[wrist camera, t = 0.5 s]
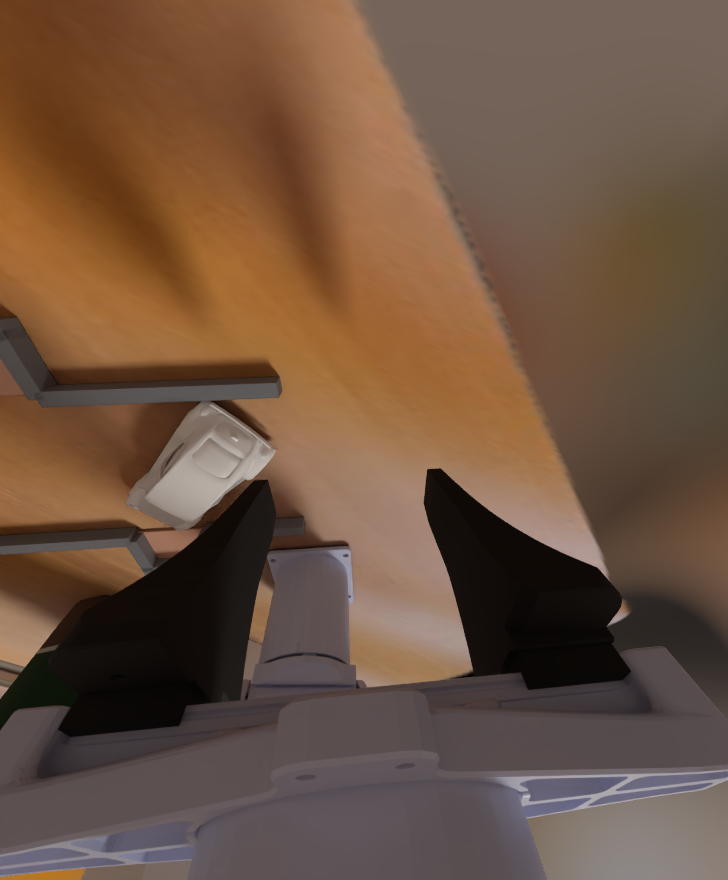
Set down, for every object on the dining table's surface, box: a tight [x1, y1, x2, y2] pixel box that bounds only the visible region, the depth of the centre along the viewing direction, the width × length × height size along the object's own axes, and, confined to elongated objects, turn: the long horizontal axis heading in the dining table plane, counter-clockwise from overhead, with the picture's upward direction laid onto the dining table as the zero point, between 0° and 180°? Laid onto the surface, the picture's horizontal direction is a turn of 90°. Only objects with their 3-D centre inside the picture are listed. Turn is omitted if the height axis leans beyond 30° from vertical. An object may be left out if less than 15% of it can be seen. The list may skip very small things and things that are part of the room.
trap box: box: [0, 317, 305, 575], centre depth 21 cm, size 22×28×3 cm
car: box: [125, 401, 277, 532], centre depth 21 cm, size 12×6×5 cm, turn 133°
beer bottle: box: [0, 595, 111, 730], centre depth 21 cm, size 8×8×24 cm
